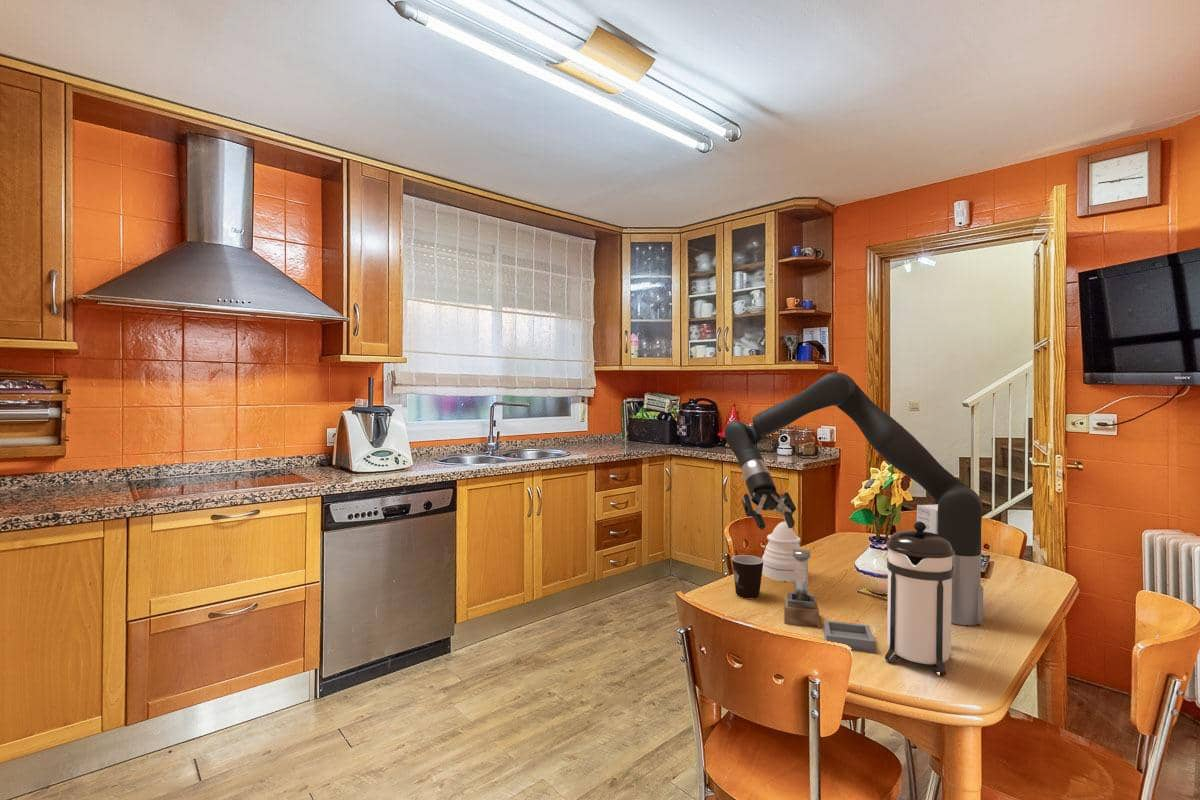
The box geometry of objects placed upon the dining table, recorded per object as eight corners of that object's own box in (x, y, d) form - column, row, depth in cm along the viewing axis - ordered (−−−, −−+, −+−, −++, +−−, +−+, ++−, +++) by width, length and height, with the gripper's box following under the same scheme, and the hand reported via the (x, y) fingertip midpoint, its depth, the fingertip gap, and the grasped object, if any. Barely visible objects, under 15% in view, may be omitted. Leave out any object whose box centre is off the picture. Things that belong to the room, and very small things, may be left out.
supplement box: (934, 559, 197) (935, 510, 196) (914, 551, 206) (915, 504, 205) (959, 557, 199) (959, 508, 198) (938, 550, 208) (938, 503, 207)
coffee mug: (764, 601, 159) (764, 565, 158) (732, 599, 160) (732, 563, 160) (761, 586, 170) (761, 553, 170) (731, 584, 172) (731, 551, 171)
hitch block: (816, 614, 149) (817, 593, 149) (818, 627, 142) (819, 605, 142) (784, 611, 152) (784, 590, 152) (784, 623, 144) (784, 601, 144)
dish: (868, 635, 137) (868, 625, 137) (874, 652, 128) (874, 641, 128) (823, 630, 140) (823, 620, 140) (826, 646, 131) (826, 635, 131)
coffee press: (980, 675, 118) (983, 529, 117) (905, 678, 117) (908, 531, 116) (926, 638, 136) (928, 510, 135) (860, 640, 134) (862, 512, 133)
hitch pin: (809, 601, 148) (810, 550, 148) (810, 607, 144) (810, 554, 144) (792, 599, 149) (792, 548, 149) (792, 605, 145) (792, 553, 145)
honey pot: (781, 566, 189) (782, 511, 189) (814, 577, 178) (814, 519, 178) (753, 572, 183) (753, 516, 182) (785, 585, 172) (785, 524, 171)
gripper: (739, 471, 164) (758, 521, 153) (785, 470, 167) (806, 519, 156) (730, 486, 169) (748, 536, 159) (775, 485, 173) (795, 533, 162)
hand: (777, 527), depth 157 cm, fingers open, 8 cm apart
